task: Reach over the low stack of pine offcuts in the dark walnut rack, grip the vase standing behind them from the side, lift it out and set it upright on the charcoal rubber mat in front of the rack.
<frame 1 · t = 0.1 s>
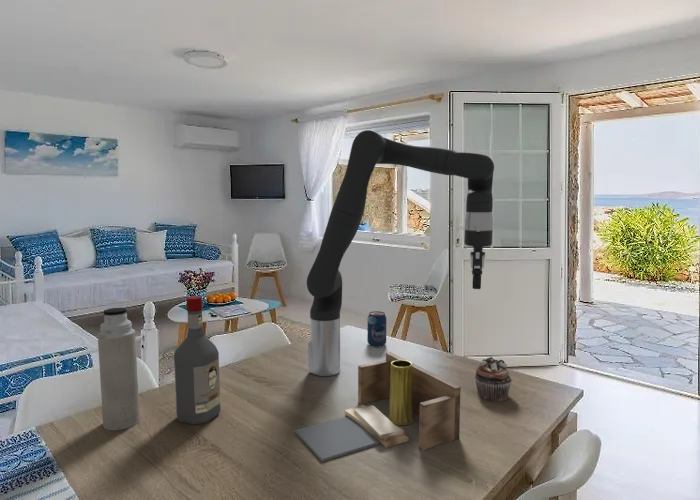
hand: (476, 285, 132), 29 cm above the table, tool pointing down, fingers open, 8 cm apart
thermos bottle: (121, 423, 114), on the table
soda can: (376, 345, 173), on the table
vase: (400, 420, 115), on the table
cupcake: (492, 395, 129), on the table
liquor: (198, 416, 117), on the table
rack: (400, 419, 115), on the table
mat: (336, 438, 106), on the table
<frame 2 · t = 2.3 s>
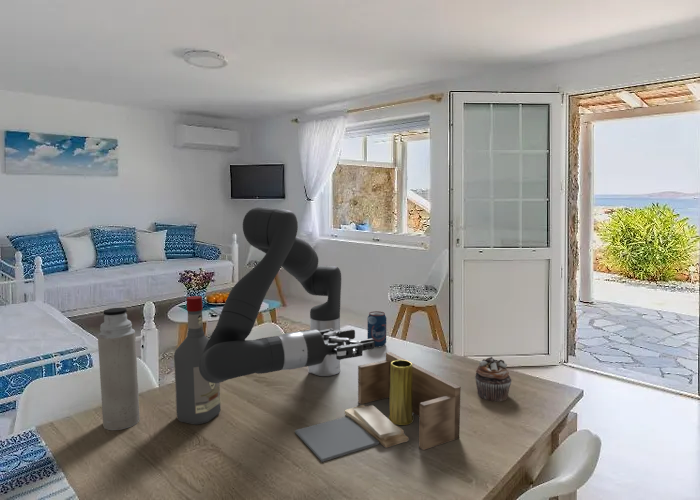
hand: (363, 338, 107), 22 cm above the table, tool horizontal, fingers open, 8 cm apart
nothing on the table moved.
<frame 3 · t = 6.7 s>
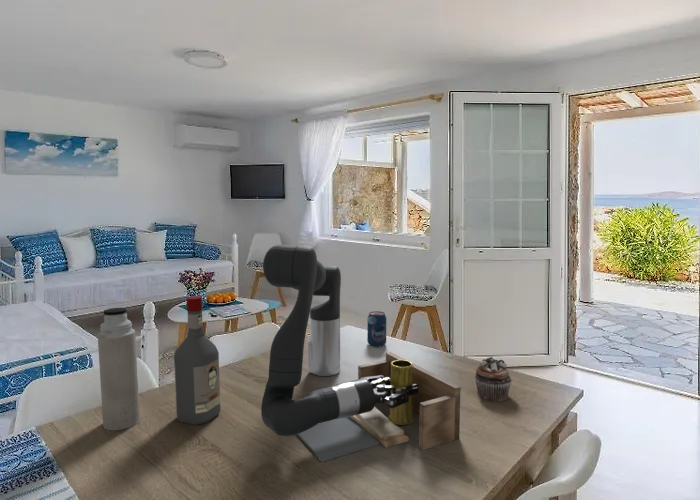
hand: (409, 384, 115), 9 cm above the table, tool horizontal, fingers closed on vase, 5 cm apart
vase: (400, 420, 115), on the table, touching gripper
everything else where it was.
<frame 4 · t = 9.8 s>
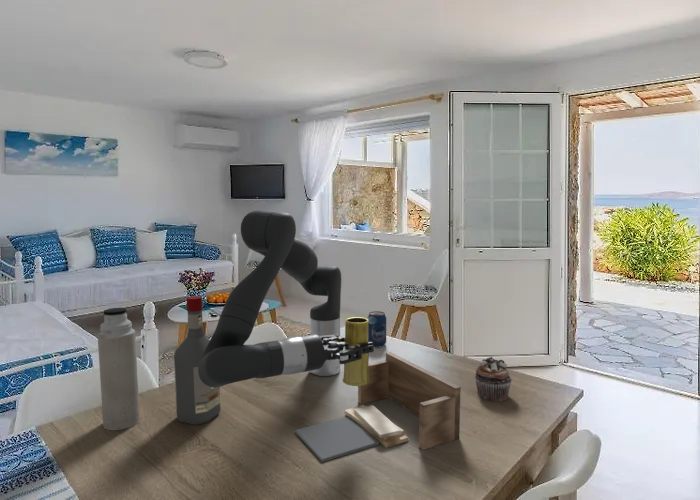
hand: (365, 343, 107), 21 cm above the table, tool horizontal, fingers closed on vase, 5 cm apart
vase: (356, 382, 107), point 12 cm above the table, touching gripper
everything else where it was.
when the fingers open (10 cm above the table, at t = 12.8 s): vase stays where it is, resting on mat.
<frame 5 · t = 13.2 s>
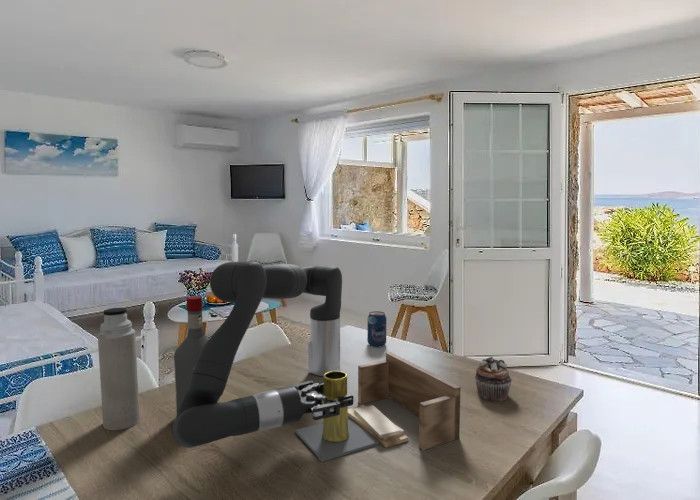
hand: (343, 392, 106), 10 cm above the table, tool horizontal, fingers open, 8 cm apart
vase: (335, 436, 106), resting on mat
everything else where it was.
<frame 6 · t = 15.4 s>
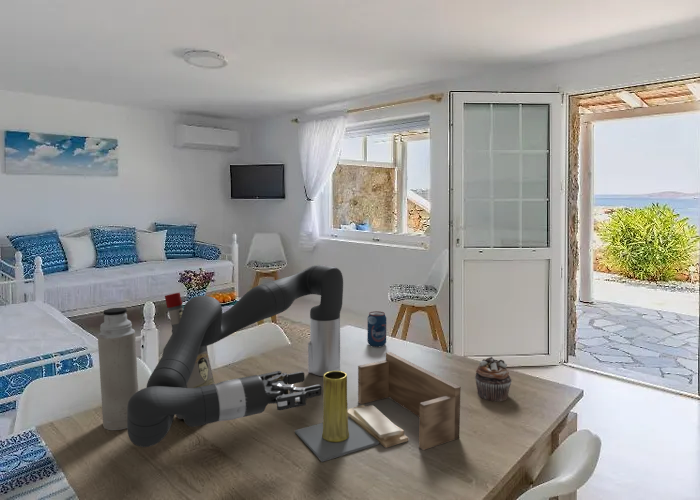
hand: (312, 382, 101), 14 cm above the table, tool horizontal, fingers open, 8 cm apart
liquor: (198, 412, 117), point 1 cm above the table, touching arm
everything else where it was.
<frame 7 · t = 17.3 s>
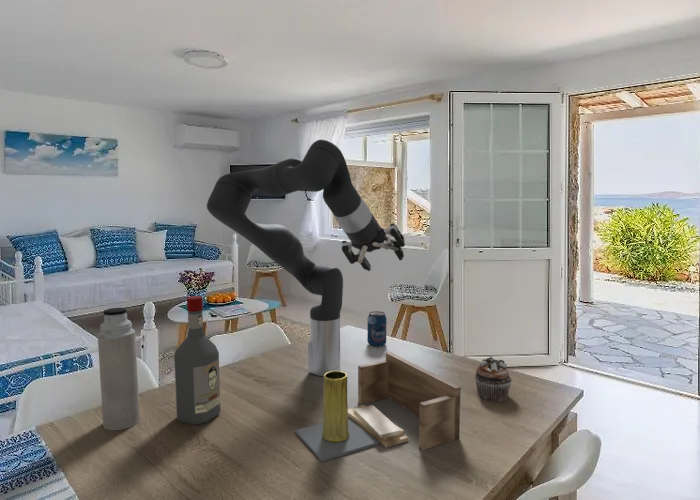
hand: (385, 263, 116), 38 cm above the table, tool tilted 45°, fingers open, 8 cm apart
liquor: (198, 416, 117), on the table
everything else where it was.
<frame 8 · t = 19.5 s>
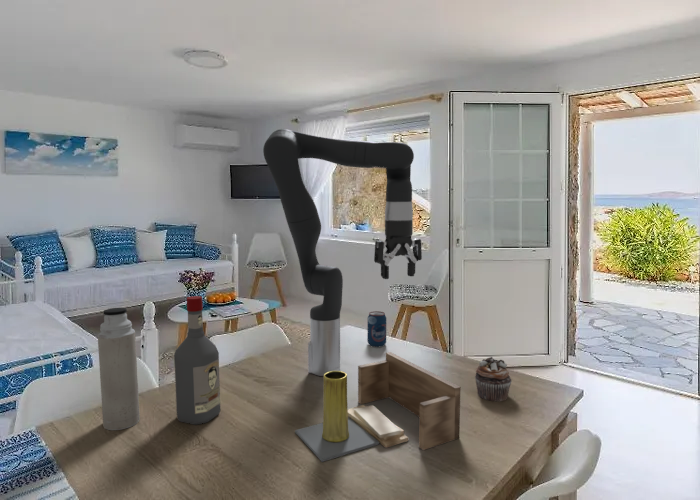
hand: (398, 277, 130), 32 cm above the table, tool pointing down, fingers open, 8 cm apart
nothing on the table moved.
at the end: vase inside the target area on the mat (0.1 cm from its centre), point 0.4 cm above the mat's base; vase tilted 0°; the gripper is holding nothing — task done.
